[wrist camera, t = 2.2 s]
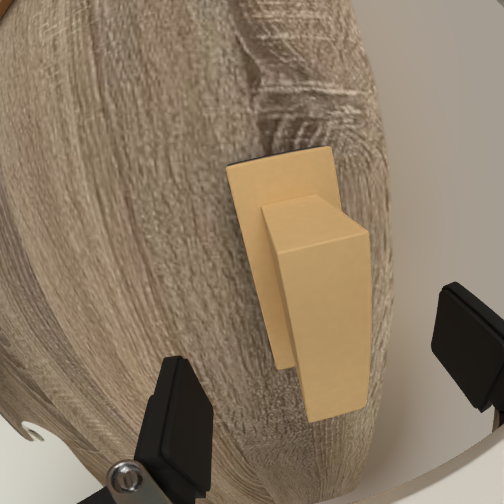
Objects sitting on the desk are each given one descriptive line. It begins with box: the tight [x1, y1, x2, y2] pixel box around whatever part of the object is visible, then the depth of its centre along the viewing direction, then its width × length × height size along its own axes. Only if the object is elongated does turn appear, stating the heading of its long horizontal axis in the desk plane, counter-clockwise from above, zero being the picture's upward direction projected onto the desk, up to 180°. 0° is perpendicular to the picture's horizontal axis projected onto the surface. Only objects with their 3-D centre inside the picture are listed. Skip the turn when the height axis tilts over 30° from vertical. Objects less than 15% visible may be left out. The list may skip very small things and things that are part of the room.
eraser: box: [226, 146, 372, 423], centre depth 12 cm, size 5×12×8 cm, turn 13°
